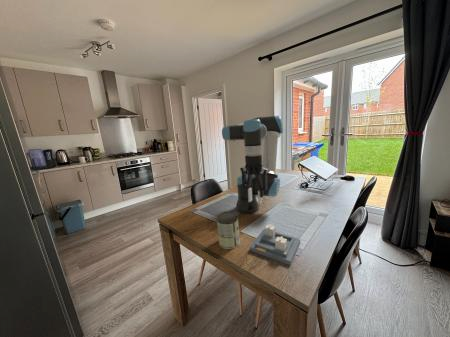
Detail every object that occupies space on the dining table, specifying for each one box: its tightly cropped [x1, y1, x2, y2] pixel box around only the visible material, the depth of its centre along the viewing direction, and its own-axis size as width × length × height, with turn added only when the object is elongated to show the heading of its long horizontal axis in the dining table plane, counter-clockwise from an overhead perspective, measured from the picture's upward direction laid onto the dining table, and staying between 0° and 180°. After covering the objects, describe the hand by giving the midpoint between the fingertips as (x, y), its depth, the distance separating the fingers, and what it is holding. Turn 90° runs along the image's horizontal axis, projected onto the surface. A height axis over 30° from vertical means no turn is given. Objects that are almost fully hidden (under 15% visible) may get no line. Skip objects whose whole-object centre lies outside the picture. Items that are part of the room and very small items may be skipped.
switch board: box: [249, 228, 301, 266], centre depth 83 cm, size 18×16×3 cm
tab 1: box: [264, 223, 276, 238], centre depth 87 cm, size 4×3×6 cm
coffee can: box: [215, 211, 241, 250], centre depth 87 cm, size 10×10×14 cm
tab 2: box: [275, 236, 287, 252], centre depth 77 cm, size 4×3×6 cm
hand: (255, 201), depth 88 cm, fingers open, 4 cm apart
